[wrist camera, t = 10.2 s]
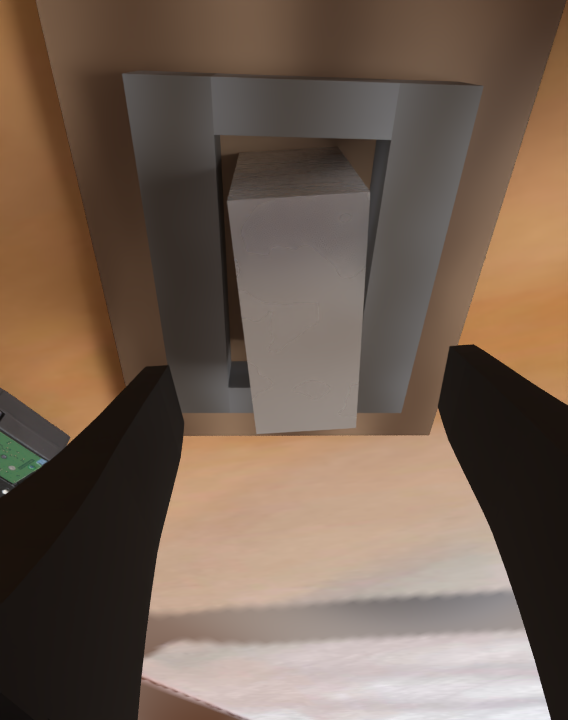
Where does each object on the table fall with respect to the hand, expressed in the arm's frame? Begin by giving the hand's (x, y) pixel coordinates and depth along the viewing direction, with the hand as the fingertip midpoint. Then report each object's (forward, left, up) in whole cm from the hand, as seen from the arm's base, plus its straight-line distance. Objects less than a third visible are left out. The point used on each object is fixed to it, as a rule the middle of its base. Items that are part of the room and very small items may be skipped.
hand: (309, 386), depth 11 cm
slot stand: (0, 0, -10) cm, 10 cm away
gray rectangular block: (0, 0, -8) cm, 8 cm away
